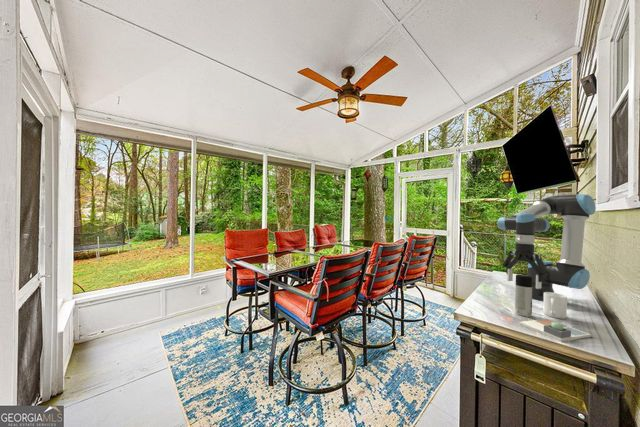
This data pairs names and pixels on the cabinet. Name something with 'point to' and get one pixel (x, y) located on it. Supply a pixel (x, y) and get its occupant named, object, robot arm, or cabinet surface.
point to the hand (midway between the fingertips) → (523, 284)
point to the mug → (555, 305)
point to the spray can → (523, 295)
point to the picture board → (545, 328)
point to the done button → (557, 326)
